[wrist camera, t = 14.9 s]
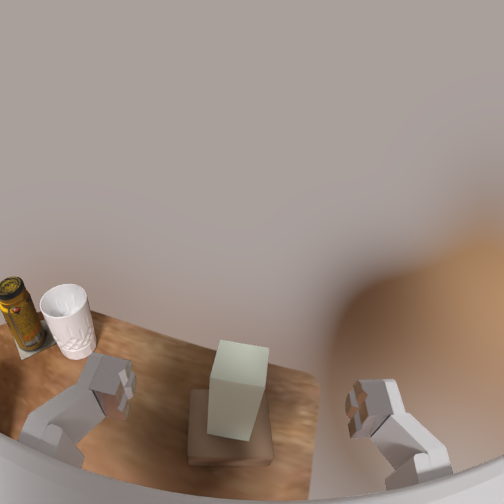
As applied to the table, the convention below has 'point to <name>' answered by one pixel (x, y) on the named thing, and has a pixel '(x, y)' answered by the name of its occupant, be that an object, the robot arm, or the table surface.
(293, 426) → the table surface
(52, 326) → the white cup
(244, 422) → the sage block
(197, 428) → the walnut base
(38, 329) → the condiment
